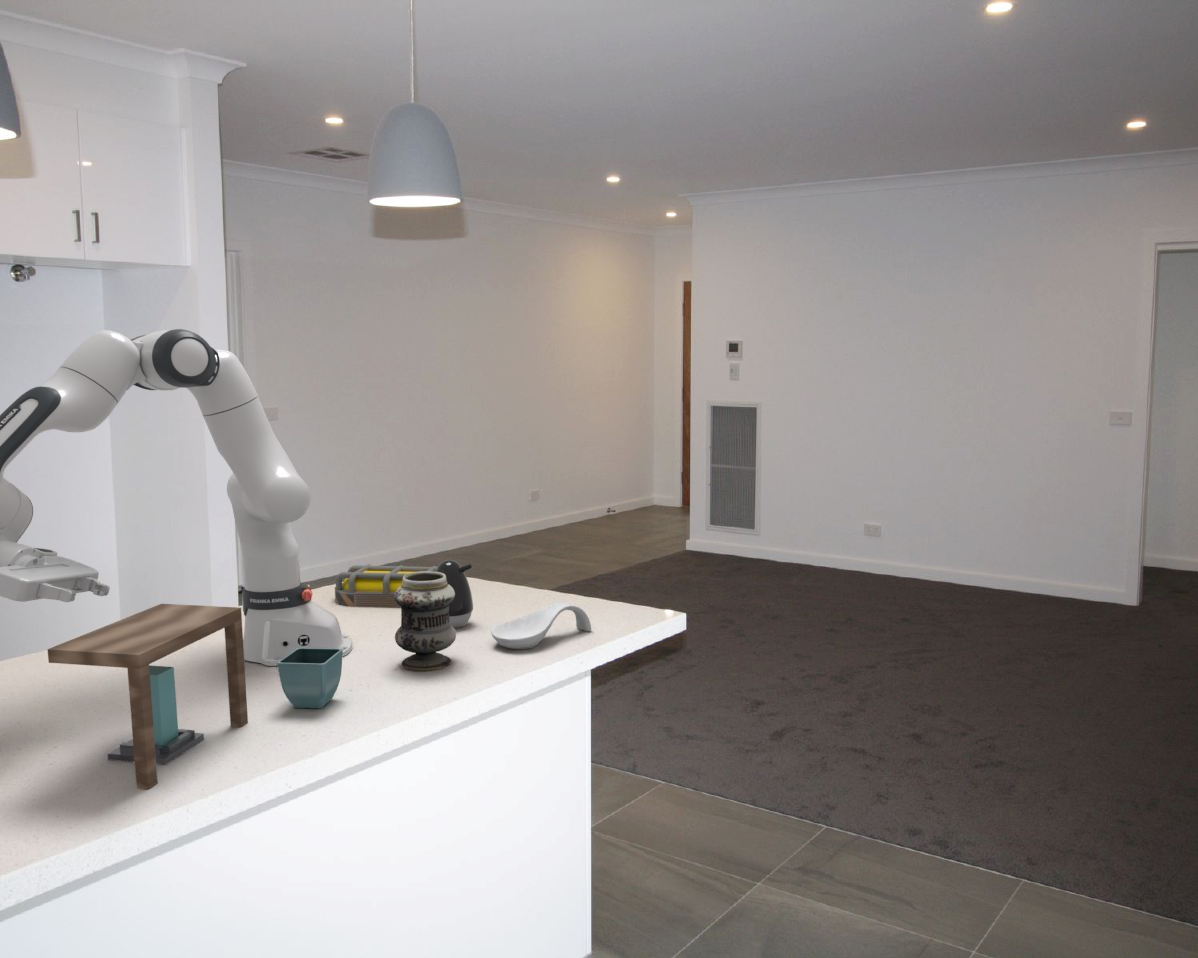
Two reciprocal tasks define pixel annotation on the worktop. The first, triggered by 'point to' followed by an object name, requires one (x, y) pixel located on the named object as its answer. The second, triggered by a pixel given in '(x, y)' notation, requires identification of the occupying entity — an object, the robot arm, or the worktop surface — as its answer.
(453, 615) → the black rounded upright piece
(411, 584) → the apothecary jar
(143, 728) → the overhang shelf
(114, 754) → the seat cradle
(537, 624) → the spoon rest
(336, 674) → the flower pot
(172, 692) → the teal box
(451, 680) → the worktop surface
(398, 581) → the cage light
